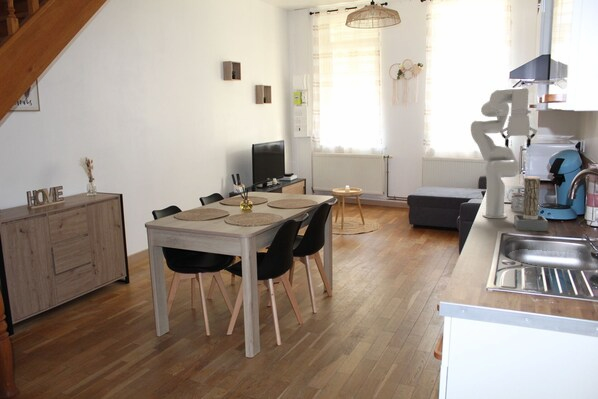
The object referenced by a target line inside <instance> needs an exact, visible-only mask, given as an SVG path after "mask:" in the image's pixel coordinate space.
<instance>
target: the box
mask: <svg viewBox="0 0 598 399" xmlns="http://www.w3.org/2000/svg"><path fill="white" fill-rule="evenodd" d="M513 216H514V217H513V218H514V219H513V226H514V227H515V228H516V231H529V230H533V232H534V231H535V232H548V225H549V222H548V220H547V219H546V217H545V216H544V215H538V221H535V220H523V214H514V215H513Z"/></svg>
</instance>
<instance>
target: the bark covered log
mask: <svg viewBox="0 0 598 399" xmlns="http://www.w3.org/2000/svg"><path fill="white" fill-rule="evenodd" d="M524 186H525V188H524V189H523V191H524V195H523V196H524V207H523V211H522V215H523V220H535V221H538V216H539V205H540V204H539V203H540V187H541V177H540V176H536V175H533V176H532V175H527V176H524Z"/></svg>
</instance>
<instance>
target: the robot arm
mask: <svg viewBox="0 0 598 399" xmlns="http://www.w3.org/2000/svg"><path fill="white" fill-rule="evenodd" d="M509 104H510V105H511V107H510V106H509ZM528 106H529V88H527V87H515V88H513V87H512V88H511V87H510V88H498V89H496V90H494V91H493V92H491V94H490V97H489V100H488V101H487V102H485V103H484V104H483V105H482V106H481V114H482V115H483V116H485V117H488V118H479V119H476V120H473V122H471V124H470V133H471V136H472V139H473V140H474V142H475V144H476V145H477V146H478V149H479V151H480V154H481V156H482V158H483V160H484V161H485V162H486V165H485V177H486V191H485V192H486V193H485V195H486V196H485V200H486V201H485V212H484V213H482V216H483V217H484V218H487V219H505V218H507V217H508V216H507V214H506V213H505V193H506V190H505V188H506V186H505V183H504V181H503V180H502V178H513V177H516V176H518V174H520V170H519V168H520V165H519V163H518V161H517V158H516V156H515V153H514V152H513V150H512V148H511V147H510V146H509V143H510V140H509V138H510V137H511V136H512V137H513V136H516V137H518V136H519V137H521V136H522V137H523V136H524V137H526V138H527V139H526V148H530V146H531V142H532V140H531V139H533V138H534V137H535V136H536V134H537V133H538V130H537V129H535V128H534V127H531V126H530V116H529V115H528V114H531V111H532V110H529V109H528V108H529V107H528ZM510 109H511V110H510ZM509 112H510V116H508V115H509ZM495 117H496V118H495ZM507 119H508V120H507ZM506 121H507V127H505V124H506ZM504 127H505V128H504ZM530 131H531V132H532V134H531V135H530ZM504 132H506V134H507V135H505V133H504ZM499 133H500V135H501V136H502V138H503V139H505V140H504V145H497V144H495V141H494V140H493V139H492V138H491V136H489V135H488V134H499Z"/></svg>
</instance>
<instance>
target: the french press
mask: <svg viewBox="0 0 598 399" xmlns="http://www.w3.org/2000/svg"><path fill="white" fill-rule="evenodd" d="M519 171H523V169H522V168H521V167H519ZM520 178H521V177H519V182H518V184H515V185H513V186H511V188H512V189H509V190H508V191H507V193H506V200H507V201H509V202H510V208H509V209H508V210H509V211H513V212H523V207H524V193H523V192H513V189H516V190H520V189H522V190H524V188H525V184H524V185H523V184H520V182H521V179H520ZM511 192H512V195H511V199H510V198H509V197H510V196H509V195H510V193H511Z"/></svg>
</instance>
